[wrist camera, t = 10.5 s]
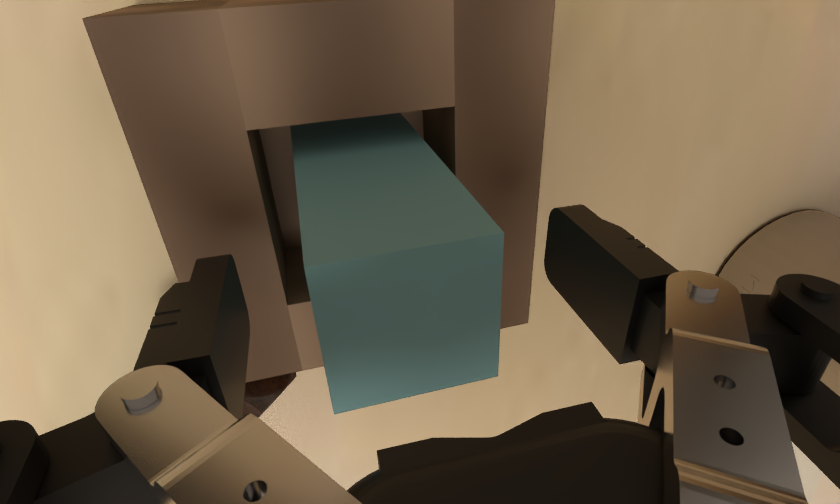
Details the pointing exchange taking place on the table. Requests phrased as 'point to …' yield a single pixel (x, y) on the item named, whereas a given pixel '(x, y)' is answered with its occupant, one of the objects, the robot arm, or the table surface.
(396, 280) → the peg
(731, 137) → the table surface
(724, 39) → the table surface
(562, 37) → the table surface
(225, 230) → the socket
